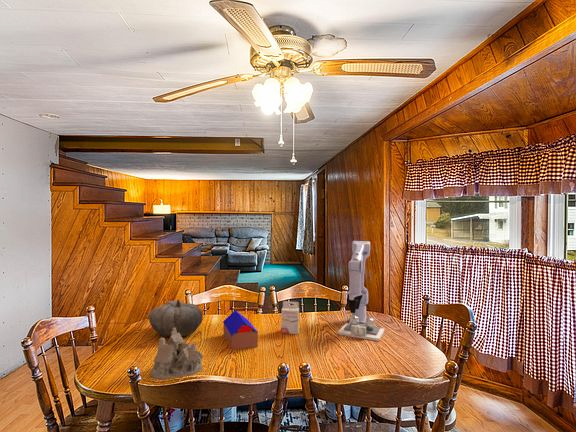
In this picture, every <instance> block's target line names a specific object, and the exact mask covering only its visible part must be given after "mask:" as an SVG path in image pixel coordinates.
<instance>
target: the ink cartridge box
mask: <svg viewBox="0 0 576 432" xmlns="http://www.w3.org/2000/svg"><path fill="white" fill-rule="evenodd" d="M299 306H300V303H299V302H298V301H287V300H285V301H282V308H281V313H280V314H281V316H280V317H281V319H280V320H281V321H280V334H289V335H290V334H291V335H298V334H299V329H300V327H299V324H300V323H299V322H300V307H299Z"/></svg>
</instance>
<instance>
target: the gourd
mask: <svg viewBox="0 0 576 432" xmlns="http://www.w3.org/2000/svg"><path fill="white" fill-rule="evenodd" d="M148 314H149V315H148V321H149V324H150V326H151V328H152V329H153V330H154V331H155V332H156V333H157V334H159V335H161V336H163V337H164V338H165V337H166V338H167V337H169V338H170V336H171V332H172V331H173V328H176V331H177V333H180V335H181V337H186V336H188V335H191V334H193V333H194V332H196V331H197V330H198V328H199V327H200V326H201V324H202V322H203V312H202V310H201V308H199V306H198V305H196V304H194V303H184V302H182V301H180V299H179V298H178V299H177V300H169V301H167V302H166V303H164V304H162V305H161V306H158V307H155V308H153V309H152V310H151V311H150V312H149V313H148Z"/></svg>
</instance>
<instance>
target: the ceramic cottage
mask: <svg viewBox="0 0 576 432" xmlns="http://www.w3.org/2000/svg"><path fill="white" fill-rule="evenodd" d="M203 357H204V354H202V352H200V350H198V349H197V347H196V343H195V342H192V343H191V344H190V343H187V342H185V340H184V338H183V336H181V335H180V333H177V331H176V328H173V331H172V332H171V336H169V338H168V341H167V343H166V339H165V337H160V338H159V343H158V346H157V353H156V355H155V357H154V359H153V362H154V363H153V366H152V367H151V372H150V377H151V378H154V379H158V380H169V379H175V378H183V377H190V376H194V375H196V374H197V373H198V372H201V371H202V370H203V365H202V361H203V359H202V358H203Z"/></svg>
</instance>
